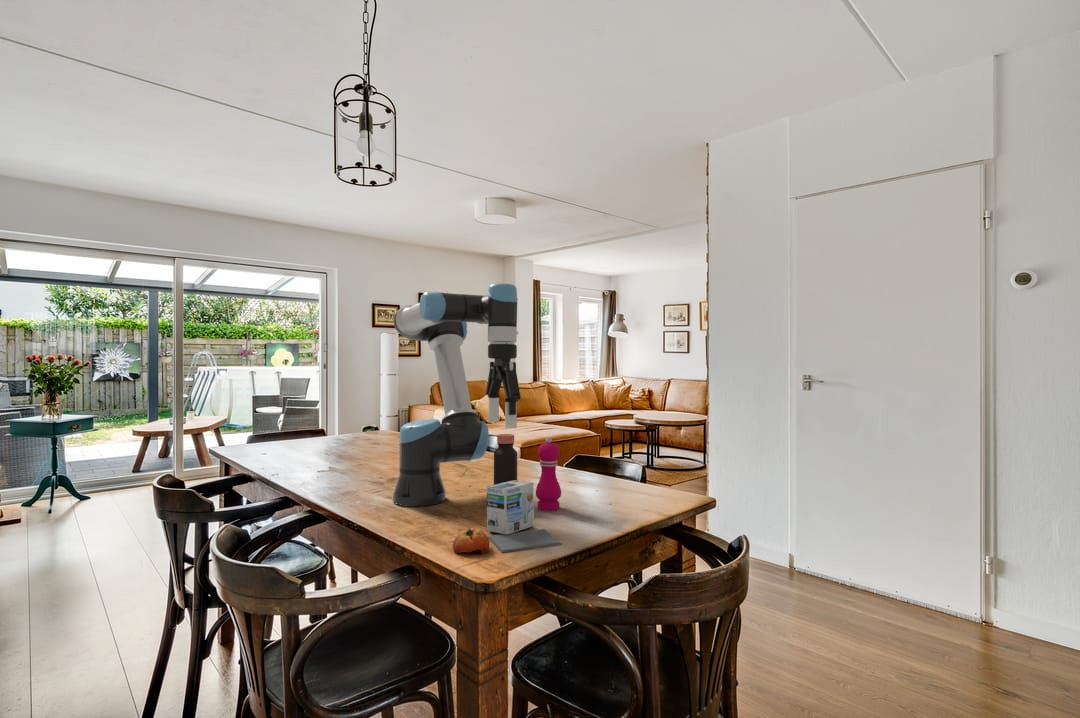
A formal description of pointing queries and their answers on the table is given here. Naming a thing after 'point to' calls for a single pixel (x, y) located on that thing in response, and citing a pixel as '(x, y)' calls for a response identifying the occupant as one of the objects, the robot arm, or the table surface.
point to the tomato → (471, 541)
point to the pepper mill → (548, 477)
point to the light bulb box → (510, 507)
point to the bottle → (505, 459)
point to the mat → (523, 540)
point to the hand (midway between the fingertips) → (501, 424)
